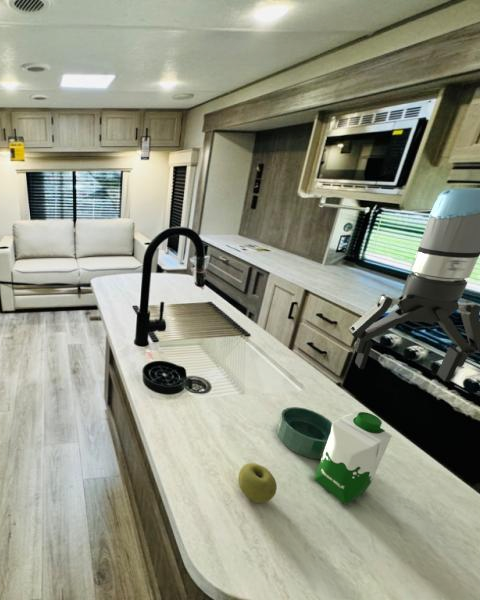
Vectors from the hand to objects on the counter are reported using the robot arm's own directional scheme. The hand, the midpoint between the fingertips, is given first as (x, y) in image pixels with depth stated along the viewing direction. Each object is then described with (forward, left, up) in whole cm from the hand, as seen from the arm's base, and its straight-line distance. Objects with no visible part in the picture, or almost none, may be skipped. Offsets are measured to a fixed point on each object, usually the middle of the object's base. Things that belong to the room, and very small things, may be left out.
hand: (399, 371), depth 66 cm
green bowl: (+9, -8, -31) cm, 33 cm away
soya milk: (+5, +5, -31) cm, 32 cm away
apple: (+23, +15, -31) cm, 42 cm away
